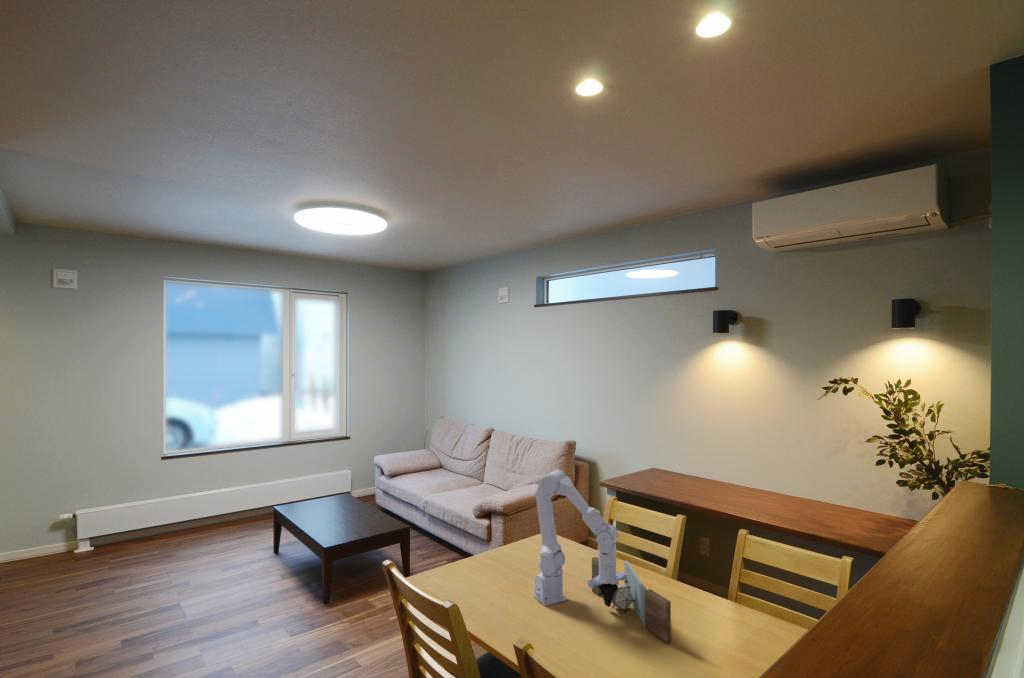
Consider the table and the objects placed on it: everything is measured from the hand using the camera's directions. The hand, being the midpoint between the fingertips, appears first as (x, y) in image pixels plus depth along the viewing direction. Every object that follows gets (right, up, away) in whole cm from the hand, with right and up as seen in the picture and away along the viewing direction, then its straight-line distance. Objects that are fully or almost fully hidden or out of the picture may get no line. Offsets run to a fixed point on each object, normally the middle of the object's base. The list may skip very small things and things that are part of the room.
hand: (607, 605), depth 170 cm
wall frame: (+6, -2, -2) cm, 7 cm away
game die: (+5, -2, +1) cm, 5 cm away
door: (+9, -2, +1) cm, 10 cm away
